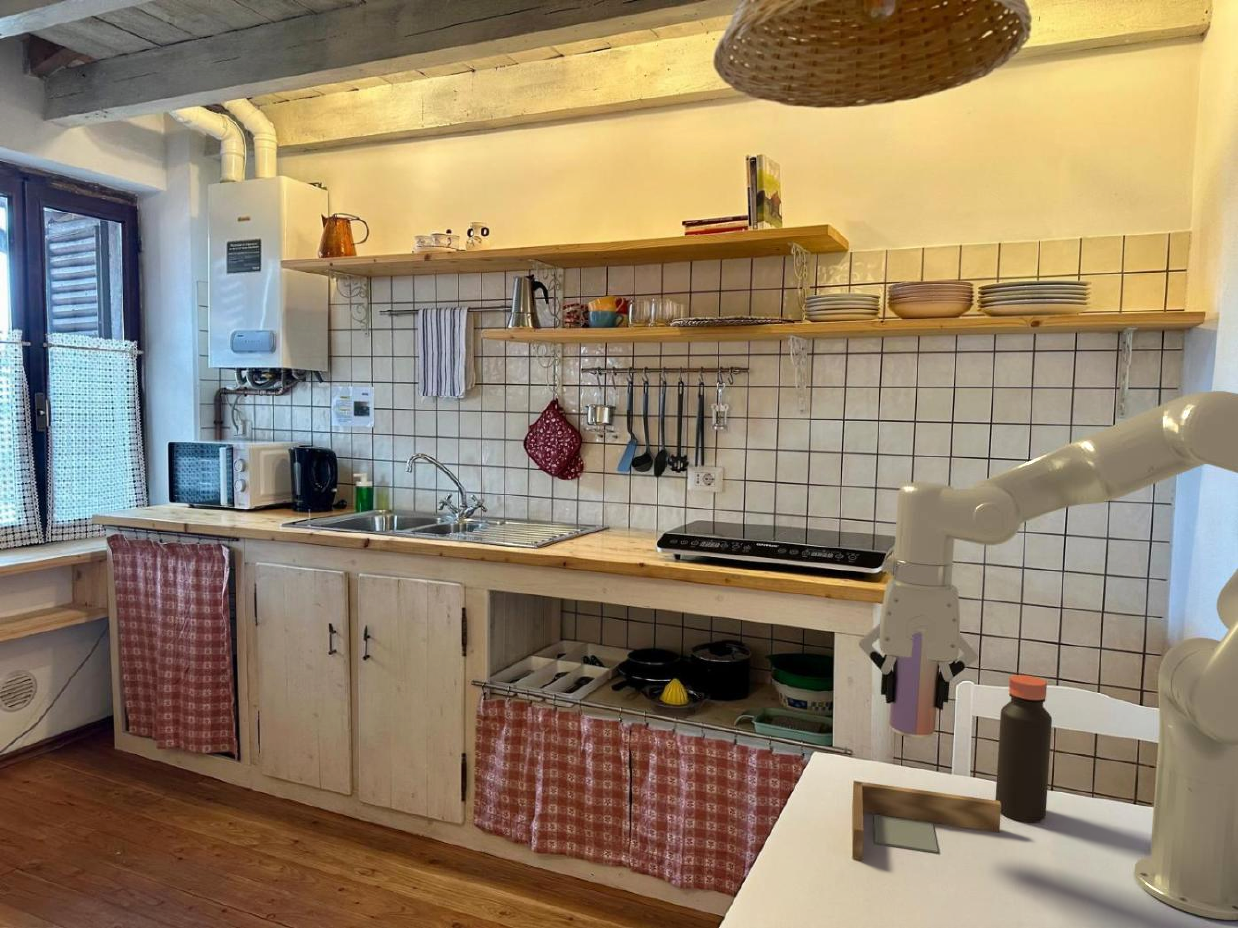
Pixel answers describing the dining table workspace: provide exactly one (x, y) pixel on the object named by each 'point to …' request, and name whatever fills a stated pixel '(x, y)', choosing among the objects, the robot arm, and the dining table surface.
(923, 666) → the beverage can
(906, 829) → the pad
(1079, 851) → the dining table surface
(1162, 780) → the robot arm
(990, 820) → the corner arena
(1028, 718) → the bottle
